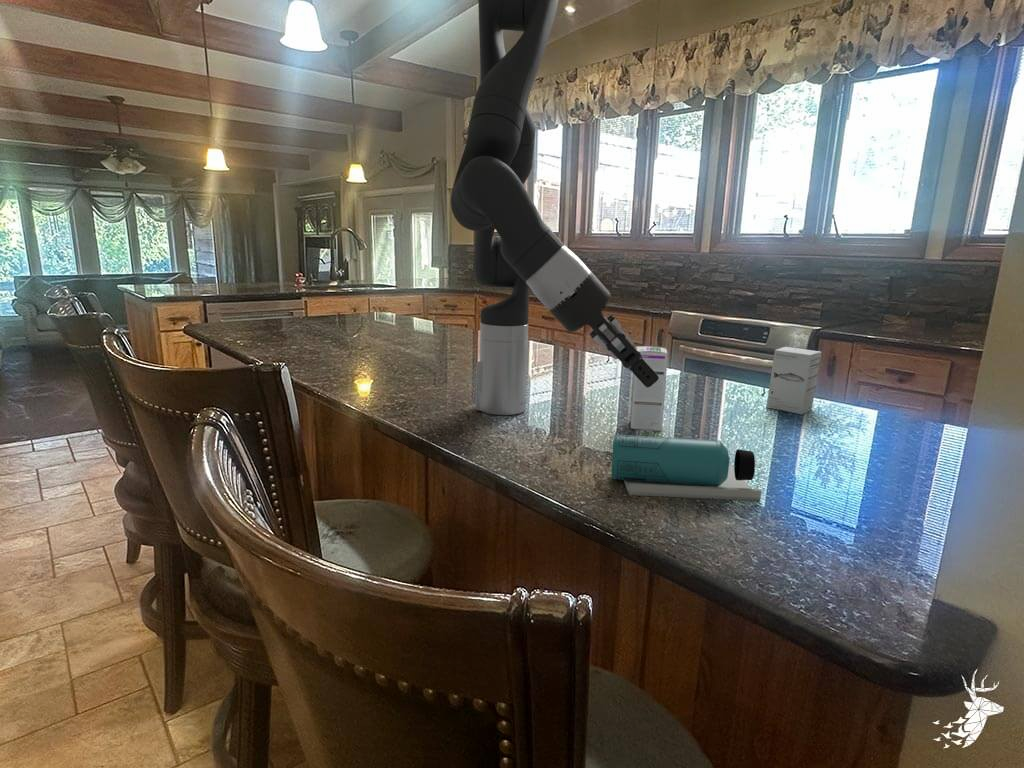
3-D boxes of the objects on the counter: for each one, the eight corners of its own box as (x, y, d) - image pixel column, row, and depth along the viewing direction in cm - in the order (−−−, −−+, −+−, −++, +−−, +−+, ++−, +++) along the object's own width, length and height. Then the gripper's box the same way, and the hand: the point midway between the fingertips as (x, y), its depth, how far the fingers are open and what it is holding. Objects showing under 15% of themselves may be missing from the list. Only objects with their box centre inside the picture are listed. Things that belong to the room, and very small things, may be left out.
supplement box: (765, 408, 121) (773, 349, 118) (777, 402, 126) (785, 345, 123) (802, 415, 116) (811, 354, 113) (813, 409, 121) (822, 350, 118)
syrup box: (662, 431, 102) (670, 352, 99) (629, 429, 103) (635, 350, 100) (661, 423, 108) (668, 347, 104) (629, 420, 109) (635, 345, 106)
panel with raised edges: (629, 495, 75) (630, 485, 75) (615, 459, 88) (616, 451, 87) (760, 500, 74) (761, 490, 74) (727, 464, 87) (728, 455, 87)
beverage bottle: (599, 482, 77) (757, 496, 73) (602, 433, 77) (760, 444, 73) (602, 474, 83) (747, 487, 79) (604, 429, 83) (750, 439, 79)
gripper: (546, 303, 83) (624, 389, 85) (548, 313, 70) (640, 413, 72) (584, 267, 81) (663, 355, 84) (594, 270, 68) (686, 374, 71)
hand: (652, 382), depth 78 cm, fingers closed
